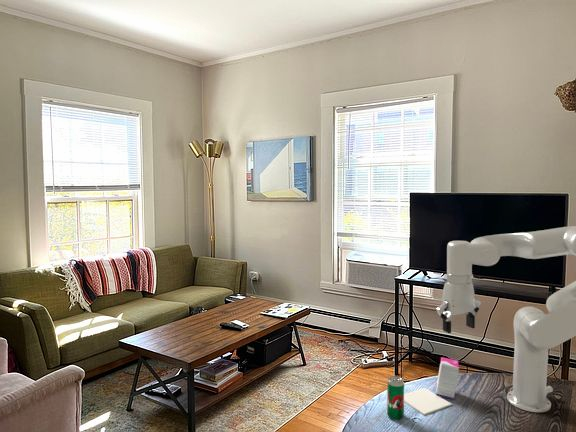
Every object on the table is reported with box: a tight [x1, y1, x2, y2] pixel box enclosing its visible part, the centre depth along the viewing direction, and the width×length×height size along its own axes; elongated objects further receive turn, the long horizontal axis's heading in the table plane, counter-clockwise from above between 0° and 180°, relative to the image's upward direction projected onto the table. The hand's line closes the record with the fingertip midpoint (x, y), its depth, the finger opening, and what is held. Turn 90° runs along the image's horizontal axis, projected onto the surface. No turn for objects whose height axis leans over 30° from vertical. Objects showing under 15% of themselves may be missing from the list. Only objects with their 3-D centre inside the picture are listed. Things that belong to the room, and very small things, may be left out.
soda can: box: [386, 375, 405, 421], centre depth 138 cm, size 5×5×12 cm
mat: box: [404, 387, 453, 416], centre depth 146 cm, size 12×12×1 cm
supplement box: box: [435, 356, 460, 400], centre depth 150 cm, size 6×6×12 cm
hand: (458, 329), depth 146 cm, fingers open, 9 cm apart
